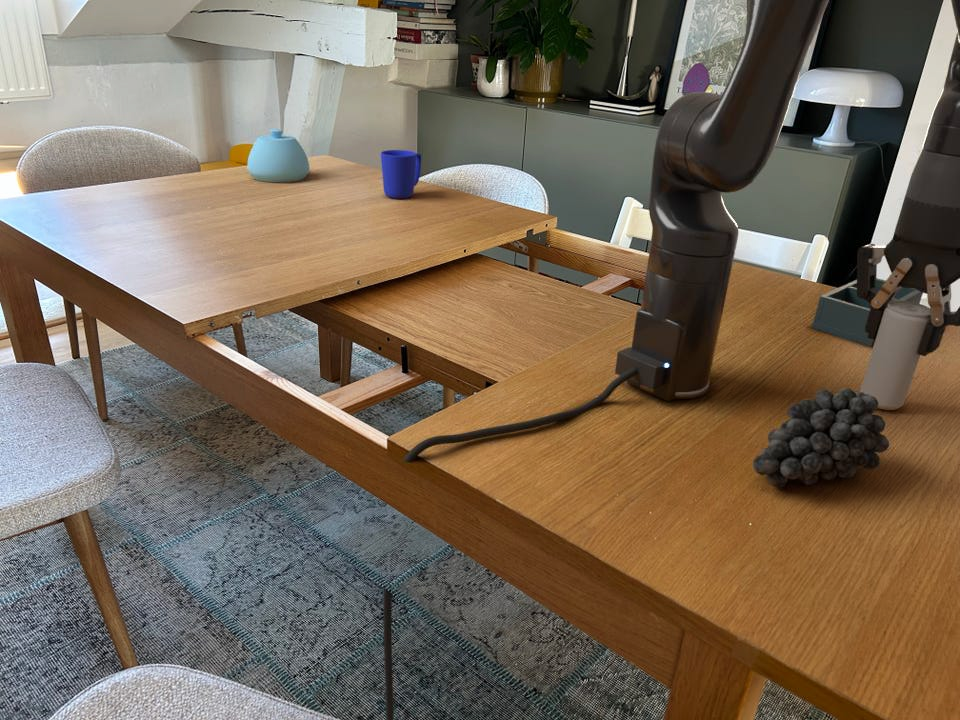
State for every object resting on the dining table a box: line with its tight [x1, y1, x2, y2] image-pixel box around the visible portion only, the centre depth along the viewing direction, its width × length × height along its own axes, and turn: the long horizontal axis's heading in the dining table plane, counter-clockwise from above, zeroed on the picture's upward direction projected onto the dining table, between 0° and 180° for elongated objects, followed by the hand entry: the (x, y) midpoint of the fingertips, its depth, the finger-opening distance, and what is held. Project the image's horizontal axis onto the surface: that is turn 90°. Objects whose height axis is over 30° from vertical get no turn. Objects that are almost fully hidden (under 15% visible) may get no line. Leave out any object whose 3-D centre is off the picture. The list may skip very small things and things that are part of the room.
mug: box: [380, 149, 422, 200], centre depth 172 cm, size 8×12×10 cm
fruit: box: [752, 387, 890, 488], centre depth 71 cm, size 9×8×15 cm
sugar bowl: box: [246, 128, 311, 183], centre depth 183 cm, size 15×15×12 cm
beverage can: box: [859, 300, 931, 411], centre depth 84 cm, size 5×5×12 cm
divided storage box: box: [811, 277, 924, 348], centre depth 110 cm, size 9×16×5 cm, turn 132°
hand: (898, 345), depth 84 cm, fingers closed on beverage can, 5 cm apart
